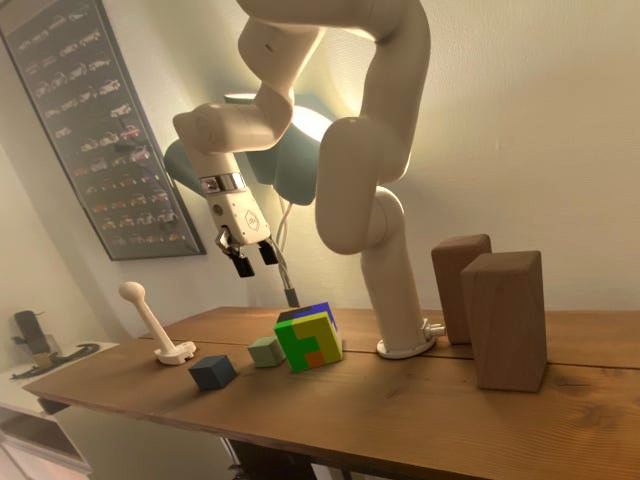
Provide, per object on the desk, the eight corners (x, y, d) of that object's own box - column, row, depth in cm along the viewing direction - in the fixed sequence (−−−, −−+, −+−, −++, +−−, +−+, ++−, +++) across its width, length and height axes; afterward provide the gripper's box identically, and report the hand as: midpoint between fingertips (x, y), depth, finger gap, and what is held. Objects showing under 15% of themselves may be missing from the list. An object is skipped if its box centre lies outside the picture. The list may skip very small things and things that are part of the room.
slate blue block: (237, 374, 80) (226, 354, 78) (222, 387, 76) (210, 366, 74) (216, 376, 81) (204, 356, 79) (200, 389, 77) (187, 369, 74)
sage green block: (289, 354, 86) (280, 334, 84) (277, 365, 82) (268, 345, 79) (269, 356, 87) (260, 337, 84) (256, 367, 82) (246, 347, 80)
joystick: (154, 360, 94) (104, 284, 85) (185, 346, 100) (142, 274, 90) (175, 366, 89) (125, 286, 79) (207, 351, 95) (163, 274, 85)
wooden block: (548, 361, 67) (541, 249, 57) (537, 393, 59) (527, 269, 49) (495, 359, 70) (480, 252, 61) (478, 389, 62) (458, 272, 53)
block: (494, 344, 76) (480, 244, 66) (447, 345, 78) (428, 249, 69) (501, 323, 84) (490, 232, 75) (459, 325, 87) (442, 237, 77)
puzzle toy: (341, 341, 88) (327, 301, 83) (342, 359, 80) (326, 316, 75) (297, 352, 86) (280, 312, 81) (293, 372, 77) (273, 329, 73)
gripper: (212, 187, 67) (253, 280, 75) (265, 179, 82) (295, 258, 90) (174, 193, 68) (220, 284, 76) (234, 185, 83) (266, 262, 91)
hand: (260, 270), depth 83 cm, fingers open, 9 cm apart
